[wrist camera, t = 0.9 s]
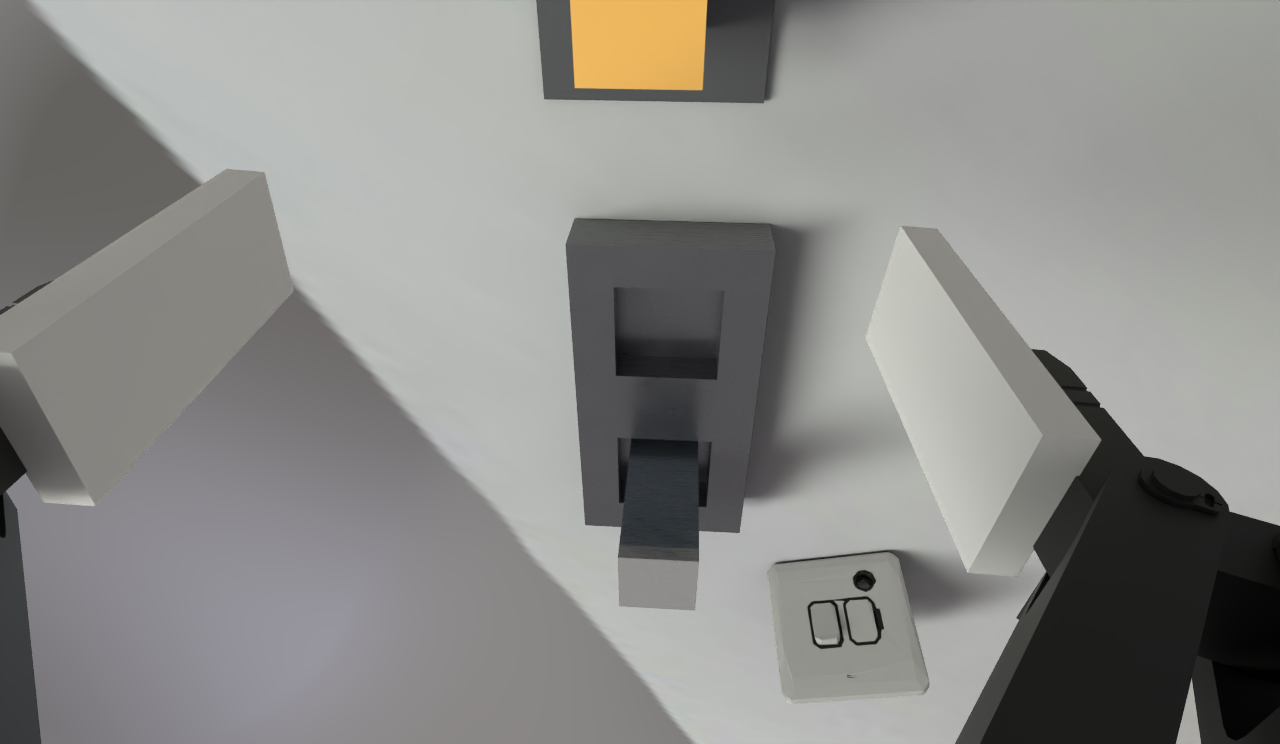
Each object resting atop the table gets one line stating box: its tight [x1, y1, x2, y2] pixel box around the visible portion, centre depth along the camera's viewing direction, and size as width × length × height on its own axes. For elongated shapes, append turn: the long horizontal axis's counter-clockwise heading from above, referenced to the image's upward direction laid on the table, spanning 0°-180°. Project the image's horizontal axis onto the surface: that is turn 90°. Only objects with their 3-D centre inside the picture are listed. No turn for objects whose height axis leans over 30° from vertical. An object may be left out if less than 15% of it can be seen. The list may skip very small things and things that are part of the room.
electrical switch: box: [767, 552, 929, 704], centre depth 48 cm, size 9×5×9 cm, turn 104°
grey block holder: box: [566, 219, 776, 610], centre depth 37 cm, size 10×20×11 cm, turn 0°
